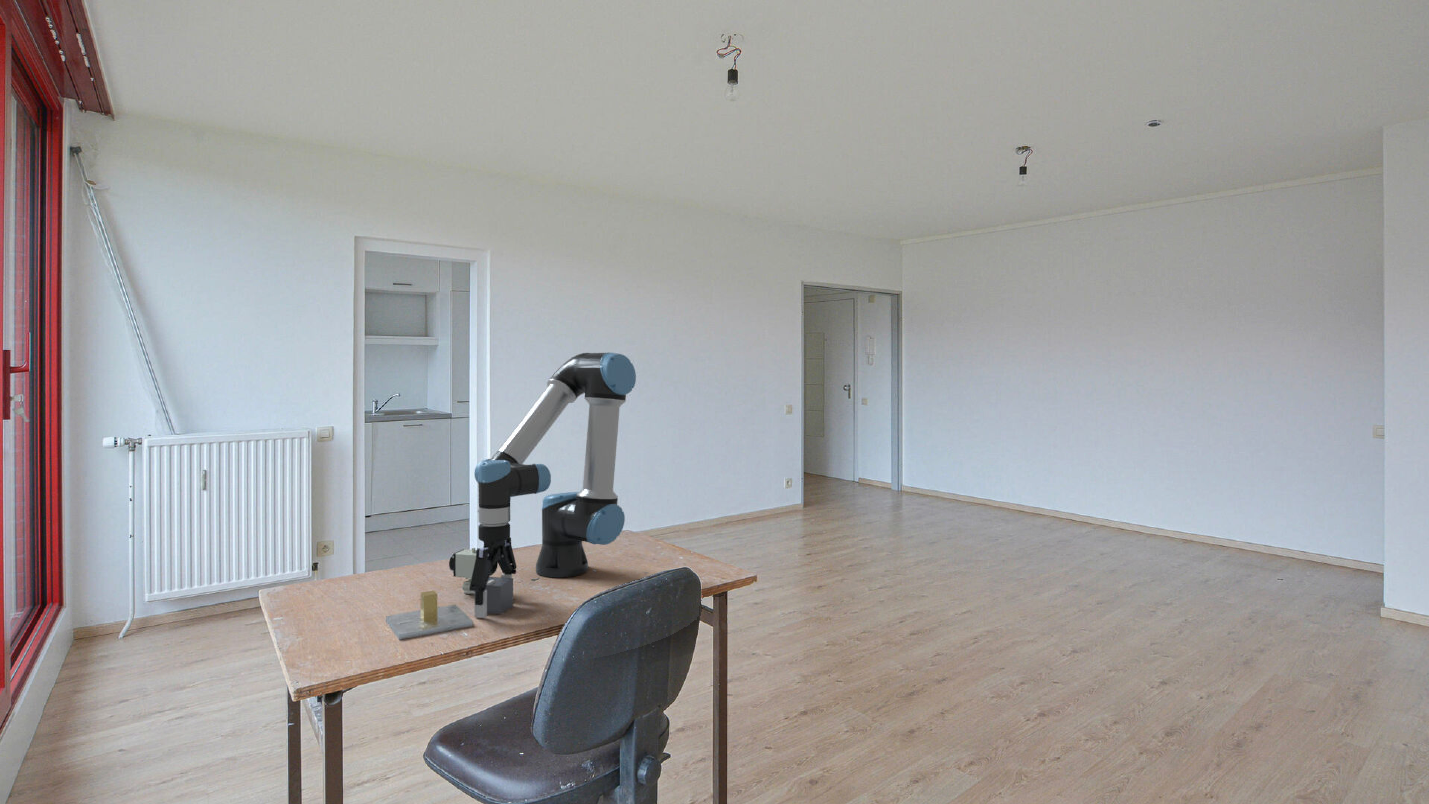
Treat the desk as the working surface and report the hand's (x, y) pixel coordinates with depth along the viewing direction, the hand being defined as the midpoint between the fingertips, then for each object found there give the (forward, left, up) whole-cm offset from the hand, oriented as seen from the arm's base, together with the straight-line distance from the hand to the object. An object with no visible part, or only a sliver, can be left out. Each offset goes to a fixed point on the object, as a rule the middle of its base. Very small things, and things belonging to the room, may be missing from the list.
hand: (494, 608), depth 181 cm
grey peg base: (+16, +2, 0) cm, 16 cm away
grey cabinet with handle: (0, 0, 0) cm, 0 cm away
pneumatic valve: (0, -16, 0) cm, 16 cm away
